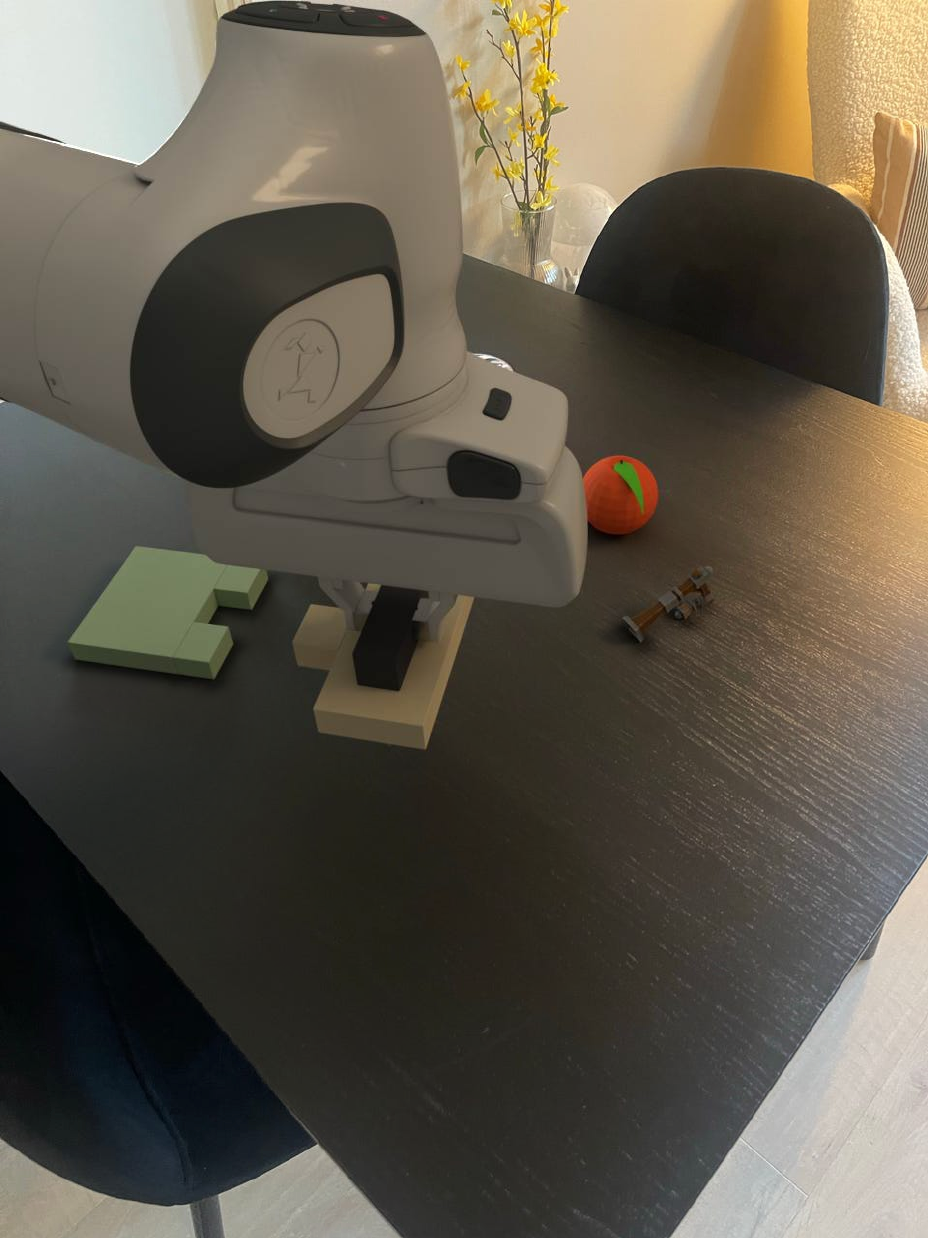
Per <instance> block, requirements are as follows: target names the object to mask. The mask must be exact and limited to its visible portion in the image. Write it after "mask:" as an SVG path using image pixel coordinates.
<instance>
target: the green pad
mask: <svg viewBox="0 0 928 1238" xmlns="http://www.w3.org/2000/svg"><path fill="white" fill-rule="evenodd" d="M268 581H269V576H268V570H264V569H256V568H248V567H240V566H233V565H225V564H219V563H215V562H213V561H212V560H211V559H210V558H209V557H207V556H206V555H205V554H204V553H195V552H187V551H178V550H177V551H176V550H169V549H163V548H162V549H161V548H153V547H146V546H138V545H136V546H135V547H134V548H133V549H132V551H131V552H130V553H129V555H128V557H127V558H126V559H125V561H124V562H123V563H122V565H121V566H120V568H119V569H118V570H117V572H116V574H115V575H114V576H113V578H112V579H111V580H110V582H109V583H108V585H107V586H106V587H105V589H104V591H103V592H102V593H101V594H100V596H99V597H98V599H97V600H96V602H95V603H94V604H93V606H92V607H91V609H90V610H89V611H88V613H87V614H86V615H85V617H84V618H83V620H82V621H81V623H80V624H79V625H78V627H77V628H76V630H75V631H74V633H73V634H72V636H71V637H70V638H69V639H68V641H67V644H68V647H69V649H70V651H71V653H72V656H73V658H74V659H75V660H77V661H84V662H89V663H90V662H91V663H97V664H103V665H104V664H105V665H110V666H119V667H123V668H124V667H125V668H132V669H139V670H145V671H153V672H158V673H159V672H160V673H165V674H166V673H167V674H172V675H181V676H187V677H194V678H202V679H206V680H207V679H208V680H215V678H217V675H218V673H219V672H220V670H221V668H222V666H223V664H224V662H225V660H226V659H227V656H228V655H229V653H230V651H231V649H232V647H233V646H234V641H233V638H232V634H231V631H230V627H229V626H227V625H219V624H211V623H210V621H211V619H212V617H213V616H214V615H215V612H216V611H217V609H218V607H224V608H225V607H226V608H231V609H232V608H233V609H241V610H249V611H252V610H253V609H254V607H255V605H256V603H257V602H258V599H259V598H260V595H261V594H262V592H263V591H264V588H265V586H266V584H267V583H268Z"/></svg>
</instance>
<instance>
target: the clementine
mask: <svg viewBox="0 0 928 1238" xmlns="http://www.w3.org/2000/svg"><path fill="white" fill-rule="evenodd" d="M582 477H583V482H584V489H585V498H586V509H587V522H588V523H590V524H591V525H592V526H593V527H594V528H595V529H596V530H598V531H600V532H602V533H605V534H610V535H626V534H631V533H633V532H636V531H637V530H639V529H640V528H642V527H643V526H644V525H646V524H647V523H648V521H649V520H650V519H651V517H652V516H653V515H654V513H655V510H656V507H657V505H658V501H659V489H658V483H657V481H656V478H655V476H654V474H653V472H652V471H651V470H650V469H649V468H648V467H647V466H646V464H645V463H643V462H642V461H640V460H639V459H636V458H633V457H631V456H627V455H612V456H607V457H605V458H602V459H600V460H598V461H596V462H595V463H594V464H593V465H592V466H590V467H589V469H588V470H587V471H586V473H585V474H584V475H583V476H582Z"/></svg>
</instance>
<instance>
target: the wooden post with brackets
mask: <svg viewBox="0 0 928 1238" xmlns="http://www.w3.org/2000/svg"><path fill="white" fill-rule="evenodd" d="M713 572H714V569H713V567H712V566H711V565H706V566H705V567H702V565H701V566H699V567H698V568H695V570H693V571H692V572H691V573H690V574H689V575H688V576H687V577H688V578H687V579H686V580H684V581H683V582H682V583H681V584H679V585H678V586H677V587H676V585H674V587H673V586H672V588H671V590H670V589H669V590H668V591H667V592H666V593H665V594H663V595H662V596H661V597H660V598H658V599H657V600H658V601H657V602H656V603H655V604H653V605H651V606H650V607H648V608H647V609H645V610H643V611H642V612H640V613H639V614H637V615H635V616H633V617H629V616H628V615H627V614H626V615H625V616H623V617H622V619H623V621H624V624H625V625H626V627H627V629H628V630H629V632H631V633H632V635H633V636H634V637H635V638H636V639H637V640H638V641H639V642H640V643H642V641H645V638H644V634H645V632H647V630H648V629H649V628H650V627H651V626H652V625H653V624H654V623H655V622H656V621H657V620H658V619H659V618H660V617H661V616H662V615H664V614H665V613H669V612H670V611H671V610H673V609H674V608H675V607H676V610H677V611H675V613H674V617H675V619H678V620H680V619H682V618H683V619H684V620H687V618H688V617H689V616H690V615H691V614H692V613H694V612H695V613H697V614H698V609H697V606H701V605H700V604H701V603H700V602H701V601H704V602H705V603H706V604H708V605H711V604H712V603H713V602H715V600H714V595H713V593H712V591H711V590H710V589H709V587H708V585H707V582H708V581H710V580H712V579H711V575H712V574H713ZM690 593H693V594H694V593H695V594H700V595H699V596H698V598H697V597H695V596H694V597H693V599H689V598H688V597H686V596H688V595H689V594H690ZM701 597H702V598H701ZM685 600H686V601H685ZM683 601H685V602H683ZM680 602H682V604H680Z"/></svg>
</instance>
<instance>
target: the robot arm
mask: <svg viewBox="0 0 928 1238" xmlns="http://www.w3.org/2000/svg"><path fill="white" fill-rule="evenodd" d="M215 28H216V29H215V37H214V39H215V40H214V58H213V62H212V65H211V68H210V70H209V72H208V74H207V77H206V78H205V81H204V83H203V85H202V87H201V89H200V91H199V93H198V95H197V97H196V99H195V100H194V101H193V103H192V105H191V107H190V108H189V110H188V111H187V113H186V114H185V115H184V117H183V118H182V120H181V121H180V123H179V124H178V126H177V127H176V128H175V130H173V132H172V133H171V134H170V135H169V137H167V139H166V140H165V141H164V142H163V143H162V144H161V145H160V146H159V147H158V148H157V149H156V150H155V151H154V152H153V153H152V154H151V155H149V156H148V157H147V158H145V160H143V161H142V162H141V163H138V162H135V161H131V160H127V159H123V158H119V157H115V156H113V155H108V154H104V153H101V152H96V151H92V150H89V149H85V148H81V147H77V146H74V145H70V144H69V143H66V142H64V141H62V140H60V139H57V138H54V137H51V136H48V135H45V134H42V133H40V132H36V131H33V130H31V129H27V128H25V127H22V126H18V125H15V124H11V123H9V122H4V121H1V120H0V401H3V402H5V403H9V404H14V405H16V406H18V407H20V408H23V409H25V410H27V411H29V412H31V413H34V414H35V415H37V416H40V417H42V418H44V419H46V420H48V421H52V422H53V423H55V424H57V425H59V426H62V427H64V428H66V429H68V430H70V431H73V432H75V433H77V434H79V435H81V436H83V437H85V438H87V439H90V440H92V441H94V442H97V443H99V444H102V445H103V446H105V447H108V448H110V449H112V450H114V451H117V452H119V453H121V454H123V455H125V456H127V457H130V458H132V459H134V460H136V461H139V462H141V463H143V464H145V465H147V466H150V467H152V468H154V469H157V470H159V471H161V472H163V473H166V474H168V475H171V476H173V477H175V478H179V479H181V480H182V479H183V480H185V489H186V498H187V499H186V500H187V508H188V513H189V519H190V525H191V529H192V535H193V538H194V542H195V544H196V547H197V548H198V549H199V550H200V552H202V554H204V555H206V556H207V557H209V558H210V559H211V560H212V561H213V562H215V563H219V564H225V565H233V566H240V567H248V568H256V569H264V570H266V571H272V572H280V573H288V574H295V575H303V576H310V577H317V581H318V586H319V588H320V589H321V590H322V591H323V592H324V593H325V595H327V596H328V597H329V599H331V600H332V601H333V603H334V604H335V605H336V607H337V608H340V609H341V610H344V614H345V620H346V625H347V629H348V630H351V631H359V632H361V631H362V629H363V627H364V624H365V622H366V619H367V617H368V615H369V612H370V610H371V608H372V605H373V603H374V601H375V598H376V596H377V594H378V592H374V591H367V590H366V588H365V587H364V586H363V585H362V584H361V583H364V584H368V583H370V584H378V585H385V586H393V587H401V588H408V589H416V590H424V591H428V593H429V599H427V598H420V600H419V603H418V605H417V610H416V611H415V613H414V616H413V618H412V625H413V630H414V633H413V635H414V639H417V640H423V641H429V642H436V643H439V642H440V641H441V638H442V635H443V632H444V629H445V624H446V615H447V614H448V612H449V611H450V610H451V609H452V608H453V606H454V605H455V603H456V600H457V597H458V595H462V596H469V597H474V598H478V599H484V600H493V601H501V602H508V603H516V604H524V605H530V606H531V605H533V606H538V607H539V606H540V607H545V608H553V609H560V608H563V607H565V606H566V605H568V604H569V603H571V602H572V601H573V600H574V599H576V598H577V597H578V596H579V593H580V591H581V587H582V585H583V579H584V575H585V569H586V563H587V557H588V556H587V555H588V542H589V541H588V539H589V538H588V537H589V536H588V533H589V532H588V520H587V509H586V498H585V489H584V482H583V477H584V476H583V472H582V470H581V467H580V463H579V462H578V460H577V458H576V457H575V455H574V453H573V452H572V451H571V450H570V449H569V447H567V446H566V440H567V435H568V425H569V401H568V398H567V396H566V395H565V394H564V392H562V391H561V390H560V389H558V388H556V387H554V386H552V385H550V384H548V383H544V382H542V381H539V380H536V379H534V378H531V377H529V376H526V375H523V374H521V373H519V372H516V371H513V370H510V369H509V368H506V367H503V366H501V365H499V364H496V363H494V362H491V361H489V360H487V359H485V358H483V357H481V356H478V355H477V354H474V353H473V352H471V351H468V346H467V345H468V344H467V339H466V335H465V331H464V327H463V324H462V323H461V320H460V318H459V314H458V309H457V301H456V298H457V297H456V293H457V285H458V280H459V277H460V273H461V269H462V266H463V265H462V264H463V259H464V234H463V233H464V232H463V210H462V196H461V183H460V182H461V180H460V169H459V167H460V166H459V158H458V150H457V142H456V141H457V140H456V131H455V125H454V119H453V111H452V106H451V100H450V96H449V91H448V87H447V83H446V77H445V74H444V71H443V66H442V63H441V60H440V57H439V54H438V52H437V49H436V46H435V44H434V42H433V40H432V38H431V36H430V35H429V34H428V33H427V32H426V31H425V30H423V29H422V28H420V27H419V26H418V25H417V24H415V23H414V22H413V21H412V20H410V19H409V18H406V17H405V16H402V15H400V14H397V13H395V12H392V11H390V10H389V11H388V10H384V9H375V8H367V7H361V6H353V5H346V4H340V3H332V4H329V3H315V2H311V1H307V0H263V1H262V0H261V1H252V2H249V3H243V4H239V5H238V6H237V8H234V9H231V10H229V11H227V12H225V13H223V14H222V15H221V16H220V17H219V18H218V20H217V23H216V27H215Z"/></svg>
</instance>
